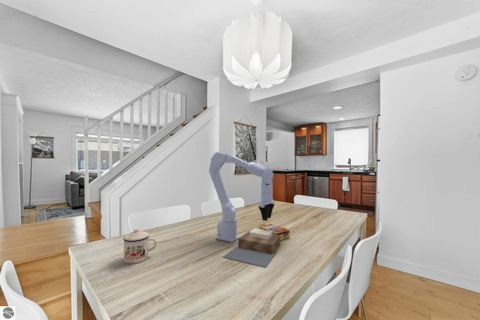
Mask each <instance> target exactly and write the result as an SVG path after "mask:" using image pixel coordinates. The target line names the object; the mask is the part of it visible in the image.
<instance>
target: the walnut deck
mask: <svg viewBox="0 0 480 320" xmlns="http://www.w3.org/2000/svg"><path fill="white" fill-rule="evenodd" d="M251 231H252V230H248V231H246V232H245V233H244V234H242V235H241V236H240V237H239V238H238V239H237V241H238V242H237V247H239V248H244V249H249V250H253V251H258V252H263V253H268V254H272V255H274V254H275V252H276V251H277V250H278V249H279V247H280V245H281V240H280V236H277V235H272V236H271V237H270V238H269V239H262V238H256V237H251V236H250V232H251Z"/></svg>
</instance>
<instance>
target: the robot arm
mask: <svg viewBox="0 0 480 320" xmlns="http://www.w3.org/2000/svg"><path fill="white" fill-rule="evenodd" d="M226 163H227V164H234V165H237V166H240V167H242V168H245V169H246V171H247V173H249V174H252V175H254V176H256V177H259V178H260V177H261V184H260V185H261V186H260V188H261V189H260V190H261V191H260V194H261V195H260V203H259V205H258V209H259V211H260V214H261V219H262V221H264V222H267V221H268V219H271V217H272V213H273V210H274V207H275V206H276V205H275V203H276V201H274V198H273V191H274V190H273V189H274V188H273V186H274V185H273V178H274V171H273V170H272V169H271V168H268V167H266V166H265V165H261V164H259V163H258V162H257V161H251V162H247V161H245V160H243V159H241V158H239V157H237V156H234V155H232V154H230V153H226V152H225V153H224V152H222V151H216V152H214V153H213V155H212V156H211V159H210V164H209V167H208V168H209V169H208V172H209V175H210V179H211V182H212V183H213V186H214V190H215V191H216V194H217V197H218V200H219V202H220V205H221V211H222V219H219V220H218V222H217V228H216V229H217V231H216V236H217V237H216V240H220V241H225V242H231V243H233V242H235V241H236V240H238V238H240V237H241V236H240V235H237V233H238V232H237V228H238V227H237V225H238V224H237V223H238V221H237V220H238V219H237V216H236V214H237V210H236V209H237V208H236V207H235V206H233V203H232V202H231V200H230V197H229V195H228V191H227V189H226V186H225V185H224V180H223V179H222V176H221V173H220V172H221V169H222V167H223V165H225V164H226Z"/></svg>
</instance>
